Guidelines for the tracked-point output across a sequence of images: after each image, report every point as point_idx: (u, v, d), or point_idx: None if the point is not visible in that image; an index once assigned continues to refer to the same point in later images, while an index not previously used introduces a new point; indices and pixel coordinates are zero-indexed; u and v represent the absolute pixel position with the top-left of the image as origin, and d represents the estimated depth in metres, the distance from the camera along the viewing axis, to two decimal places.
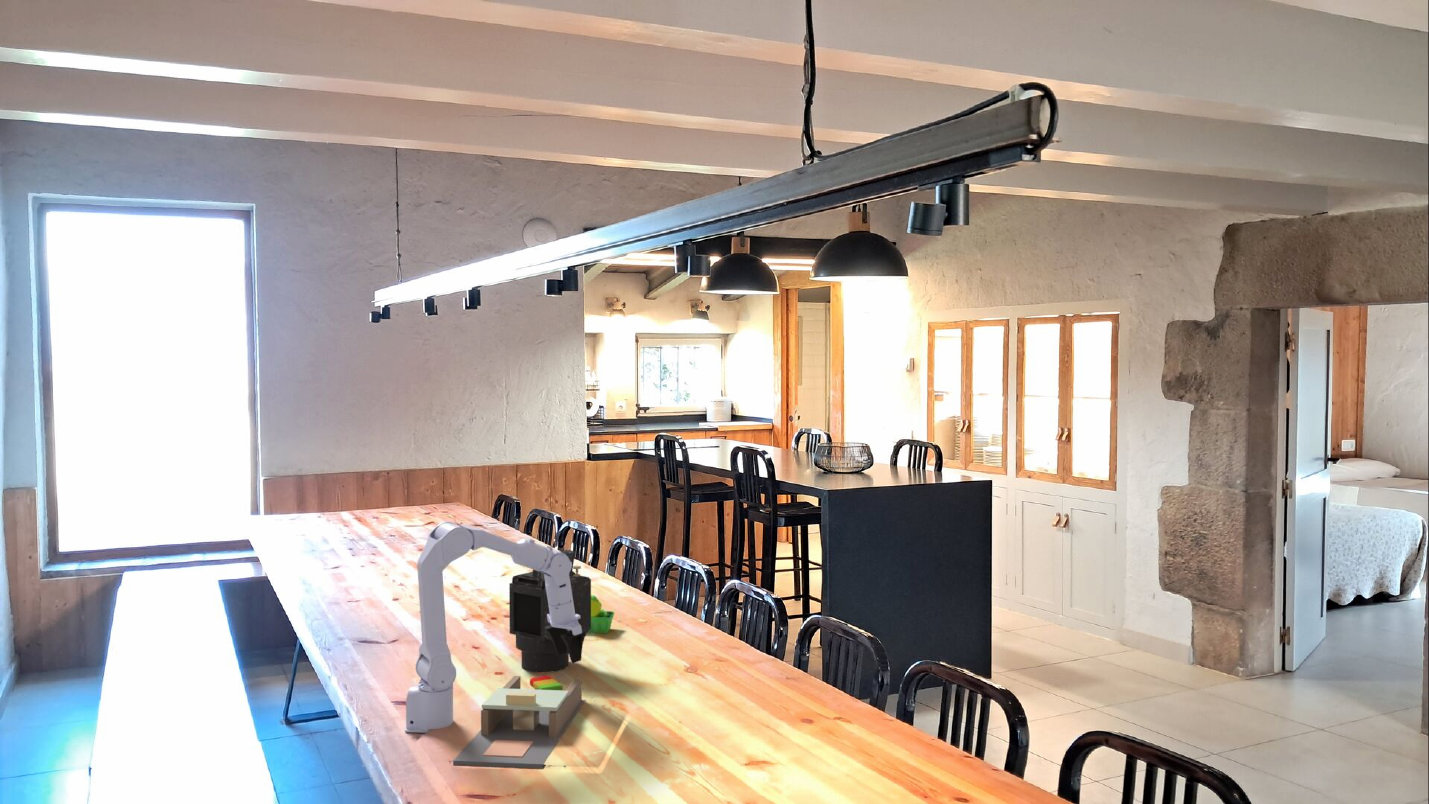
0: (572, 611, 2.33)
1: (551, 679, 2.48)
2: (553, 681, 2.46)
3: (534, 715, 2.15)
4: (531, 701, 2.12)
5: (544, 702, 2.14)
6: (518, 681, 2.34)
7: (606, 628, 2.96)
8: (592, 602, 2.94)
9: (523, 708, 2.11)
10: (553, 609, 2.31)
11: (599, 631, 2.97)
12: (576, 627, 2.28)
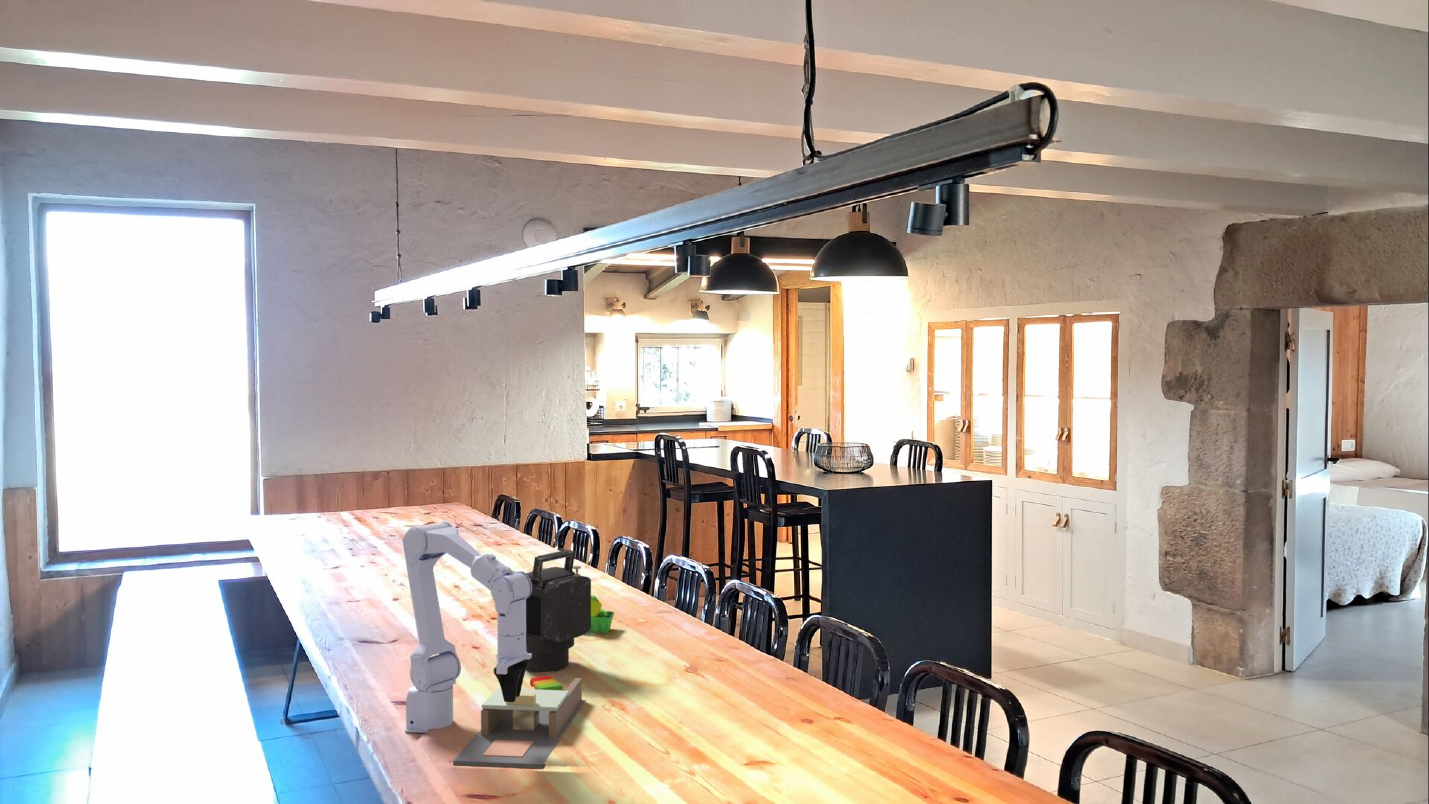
0: (515, 647, 2.03)
1: (551, 679, 2.48)
2: (553, 681, 2.46)
3: (534, 715, 2.15)
4: (531, 701, 2.12)
5: (544, 702, 2.14)
6: None
7: (606, 628, 2.96)
8: (592, 602, 2.94)
9: (523, 708, 2.11)
10: None
11: (599, 631, 2.97)
12: (500, 665, 1.99)
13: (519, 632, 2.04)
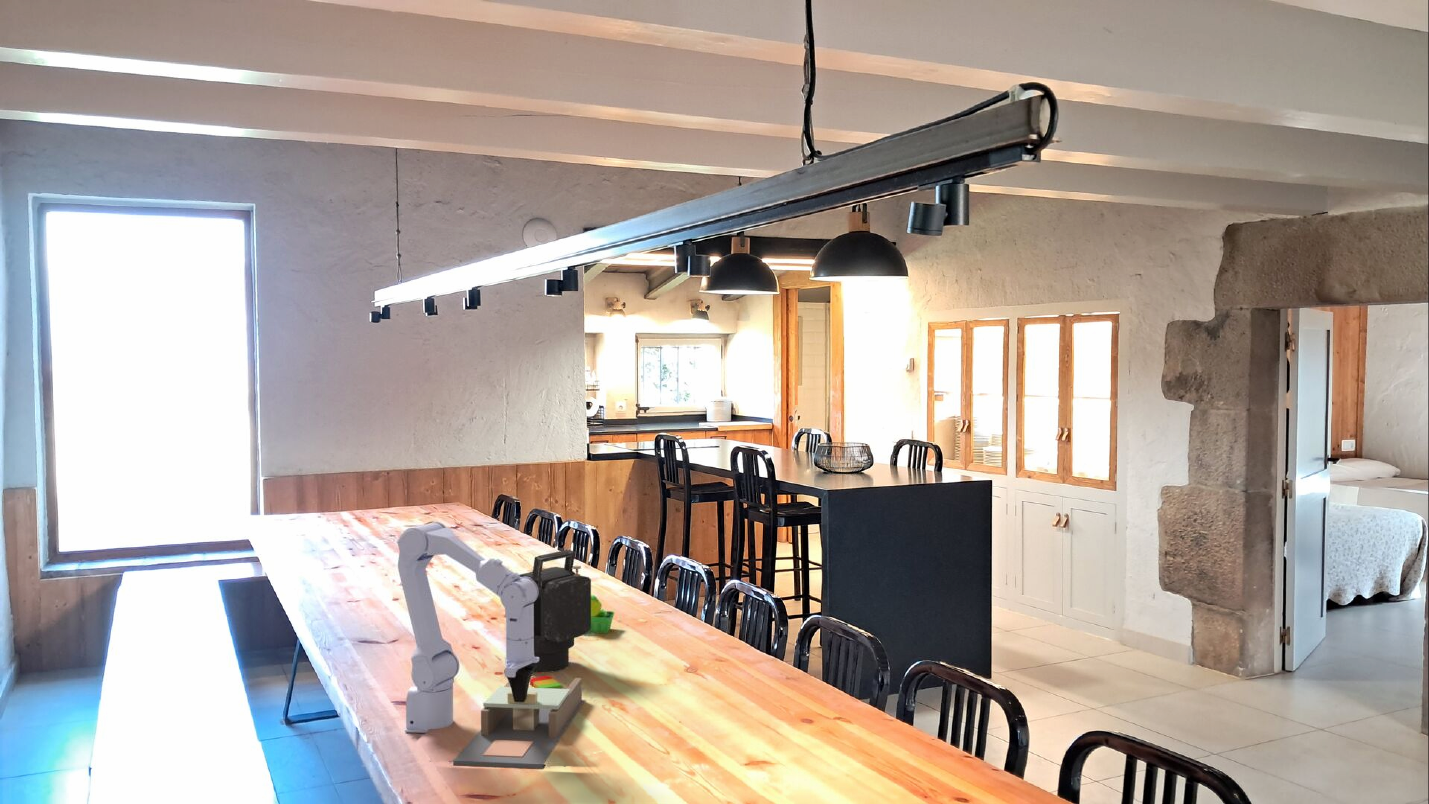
0: (523, 651, 2.09)
1: (551, 679, 2.48)
2: (553, 681, 2.46)
3: (534, 715, 2.15)
4: (532, 700, 2.13)
5: (545, 700, 2.15)
6: None
7: (606, 628, 2.96)
8: (592, 602, 2.94)
9: (524, 706, 2.12)
10: (506, 642, 2.11)
11: (599, 631, 2.97)
12: (508, 669, 2.05)
13: (530, 635, 2.10)
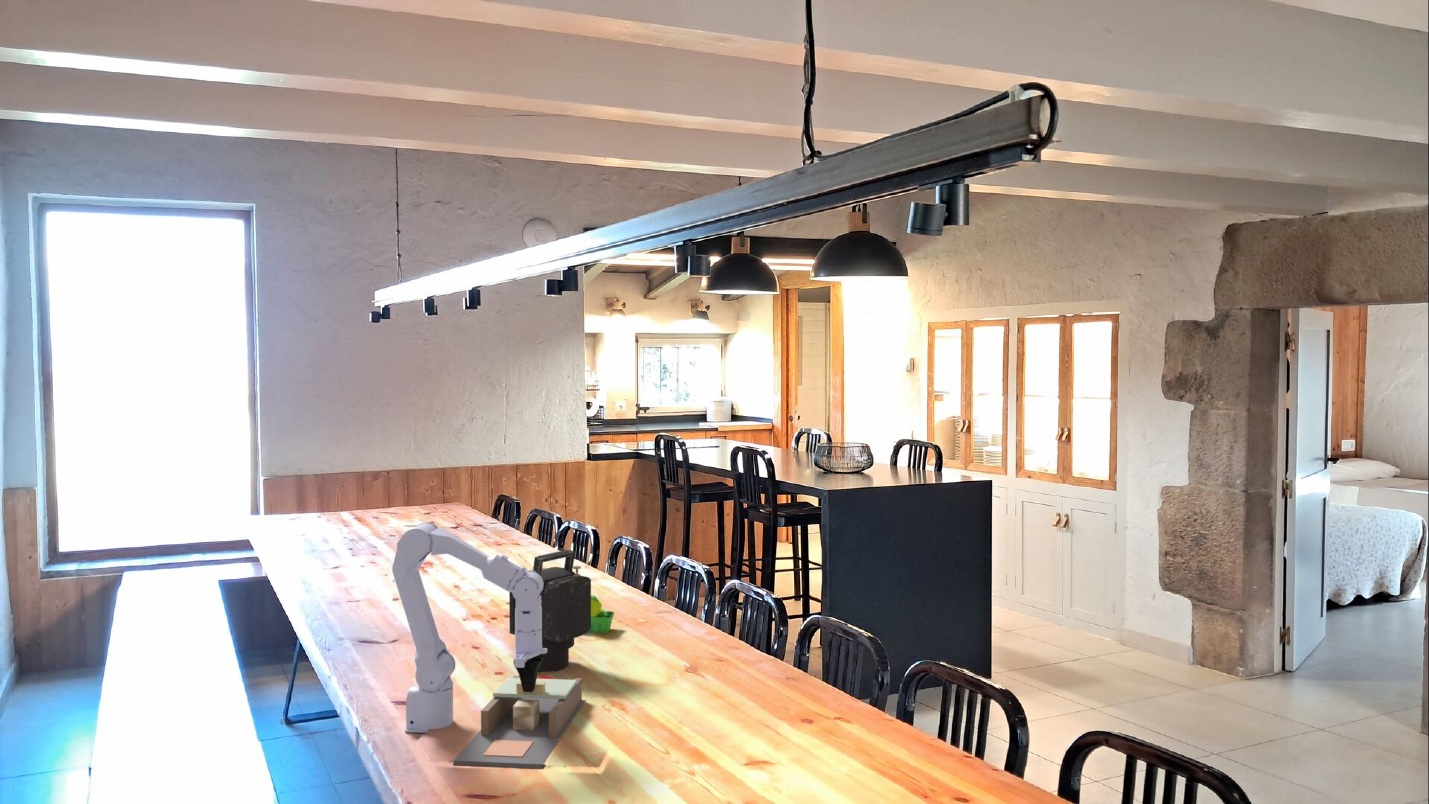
0: (532, 643, 2.16)
1: None
2: None
3: (534, 715, 2.15)
4: (540, 690, 2.19)
5: (553, 690, 2.21)
6: None
7: (606, 628, 2.96)
8: (592, 602, 2.94)
9: (533, 696, 2.19)
10: (515, 634, 2.17)
11: (599, 631, 2.97)
12: (518, 659, 2.11)
13: (540, 626, 2.17)
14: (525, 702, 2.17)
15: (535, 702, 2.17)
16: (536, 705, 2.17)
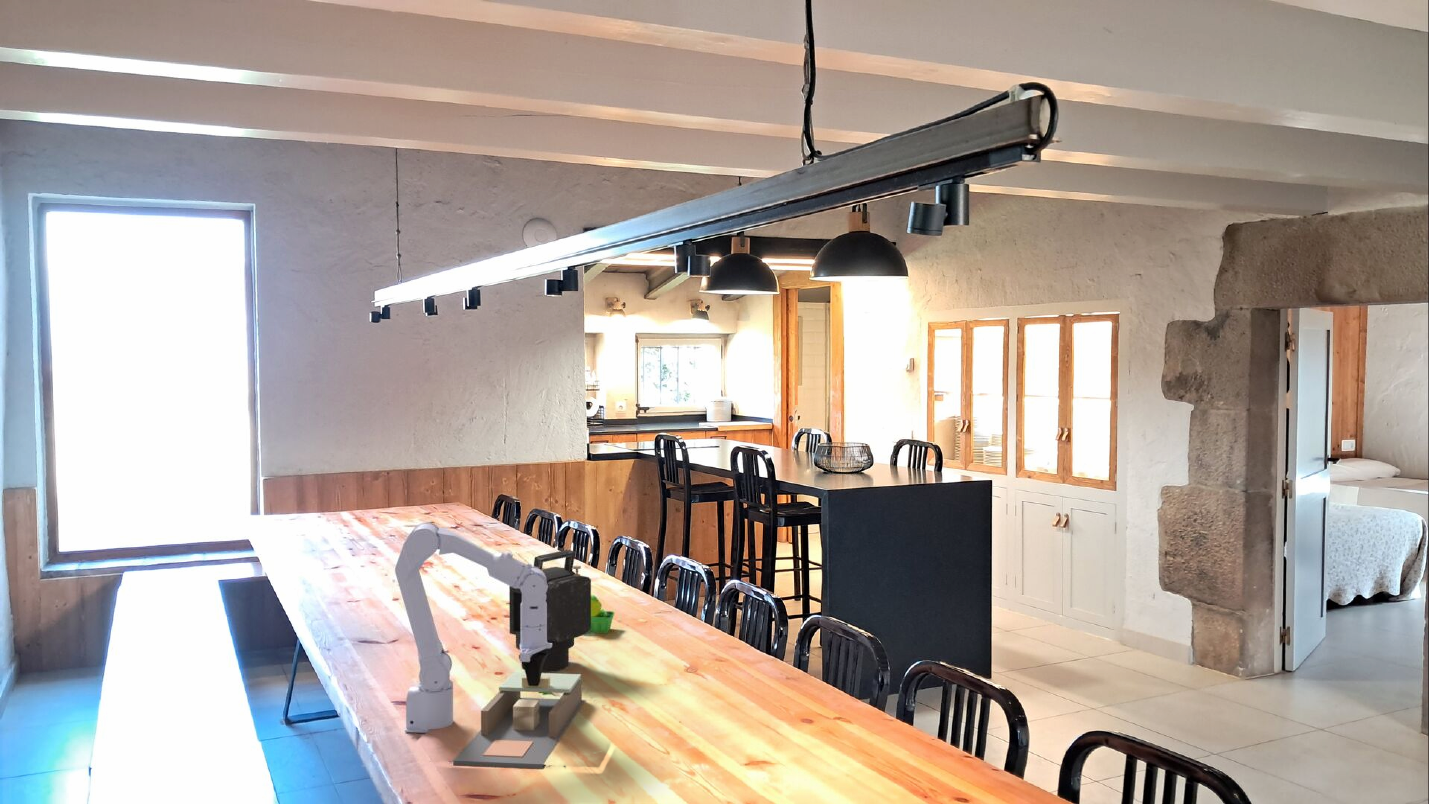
0: (537, 637, 2.20)
1: None
2: None
3: (534, 715, 2.15)
4: (545, 684, 2.23)
5: (558, 685, 2.25)
6: None
7: (606, 628, 2.96)
8: (592, 602, 2.94)
9: (538, 690, 2.23)
10: None
11: (599, 631, 2.97)
12: (523, 654, 2.15)
13: (546, 621, 2.22)
14: (525, 702, 2.17)
15: (535, 702, 2.17)
16: (536, 705, 2.17)
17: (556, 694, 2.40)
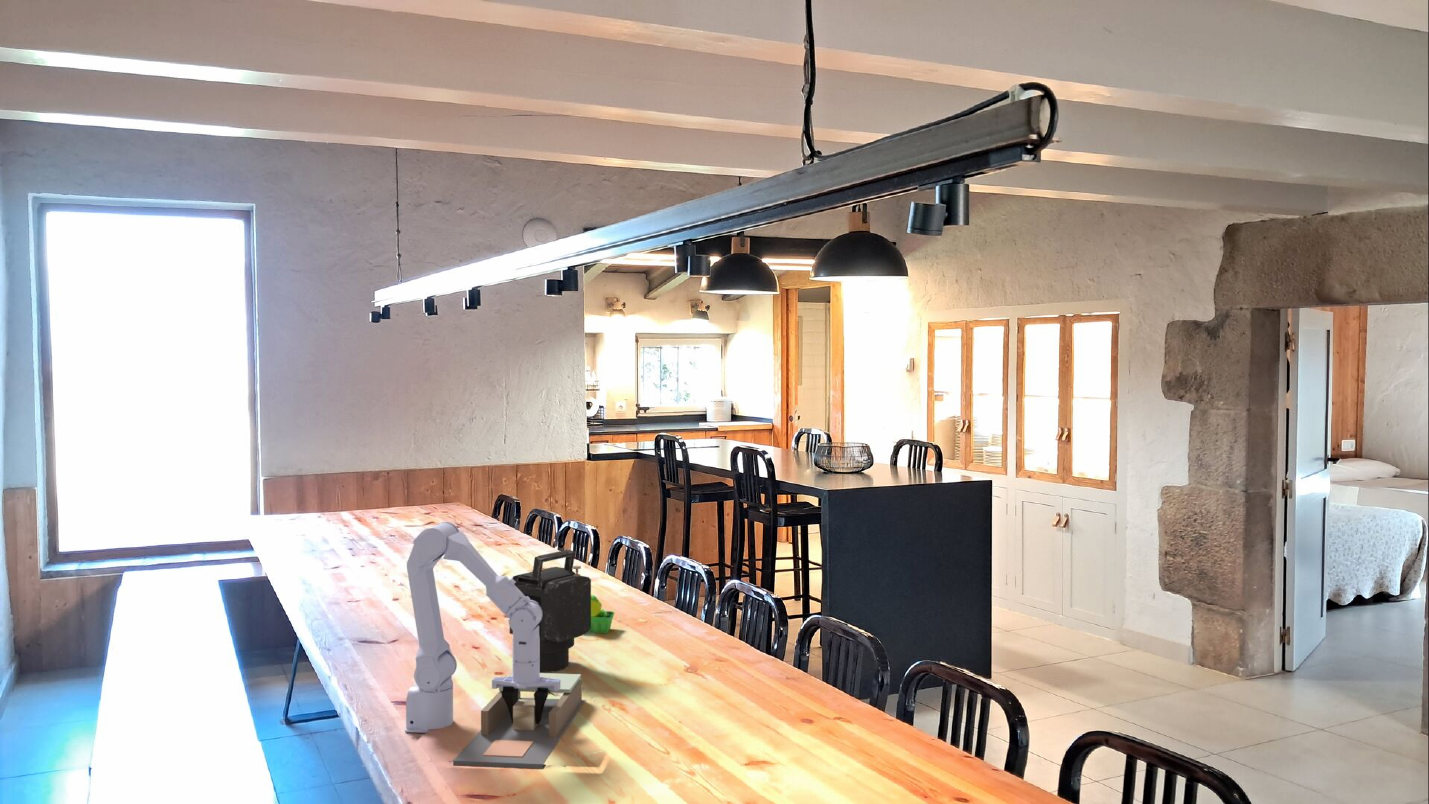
0: (513, 672, 2.15)
1: None
2: None
3: (534, 715, 2.15)
4: None
5: None
6: None
7: (606, 628, 2.96)
8: (592, 602, 2.94)
9: None
10: None
11: (599, 631, 2.97)
12: None
13: (538, 657, 2.16)
14: (525, 702, 2.17)
15: None
16: None
17: (556, 694, 2.40)
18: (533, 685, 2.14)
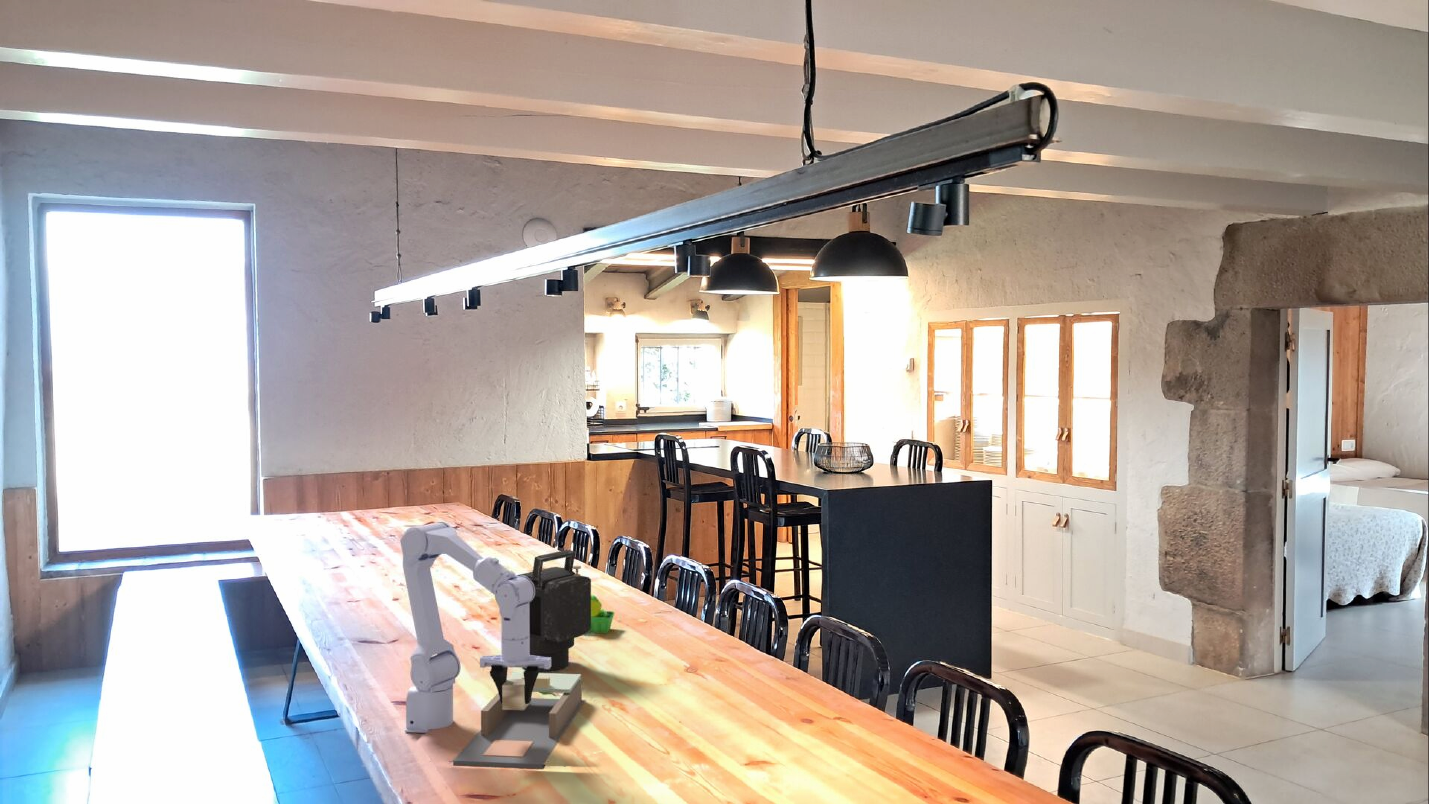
0: (502, 649, 2.07)
1: None
2: None
3: (524, 694, 2.07)
4: (545, 684, 2.23)
5: (558, 685, 2.25)
6: None
7: (606, 628, 2.96)
8: (592, 602, 2.94)
9: (538, 690, 2.23)
10: None
11: (599, 631, 2.97)
12: None
13: (524, 636, 2.06)
14: (515, 682, 2.09)
15: None
16: None
17: (556, 694, 2.40)
18: (523, 663, 2.06)
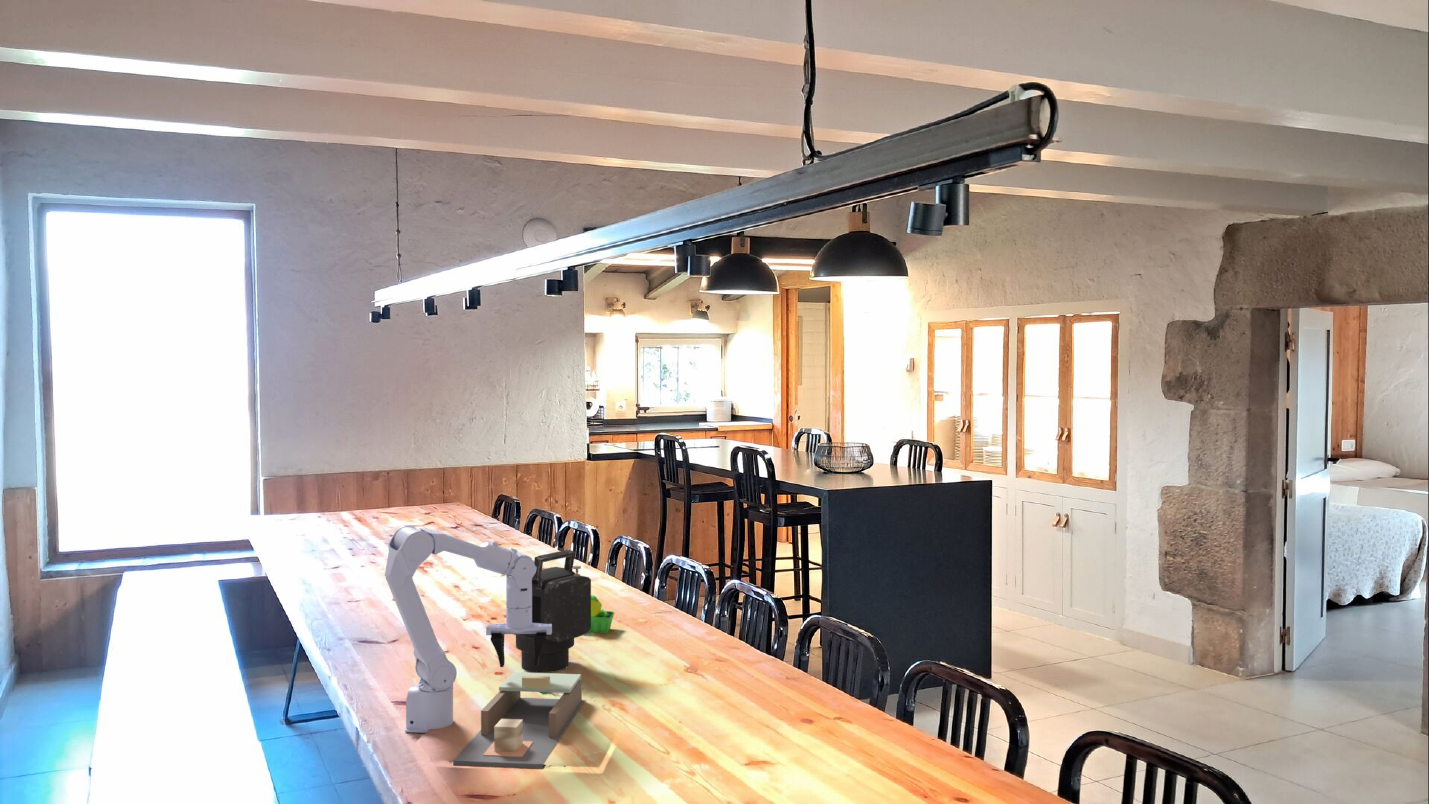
0: (507, 618, 2.27)
1: None
2: None
3: (517, 736, 2.02)
4: (545, 684, 2.23)
5: (558, 685, 2.25)
6: None
7: (606, 628, 2.96)
8: (592, 602, 2.94)
9: (538, 690, 2.23)
10: None
11: (599, 631, 2.97)
12: None
13: None
14: (508, 722, 2.04)
15: (517, 722, 2.04)
16: (519, 725, 2.04)
17: (556, 694, 2.40)
18: (527, 629, 2.26)
